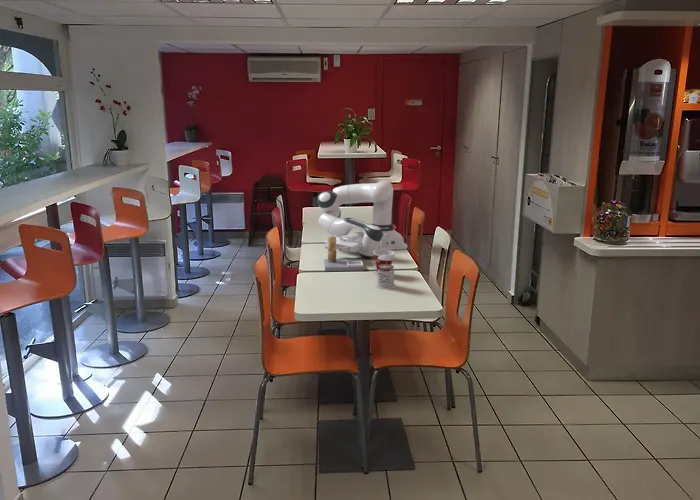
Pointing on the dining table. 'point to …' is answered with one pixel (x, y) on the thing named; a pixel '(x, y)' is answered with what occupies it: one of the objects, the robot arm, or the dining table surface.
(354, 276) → the dining table surface
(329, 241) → the oak column
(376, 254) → the plastic cup
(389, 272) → the french press
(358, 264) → the board
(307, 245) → the dining table surface
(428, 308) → the dining table surface
